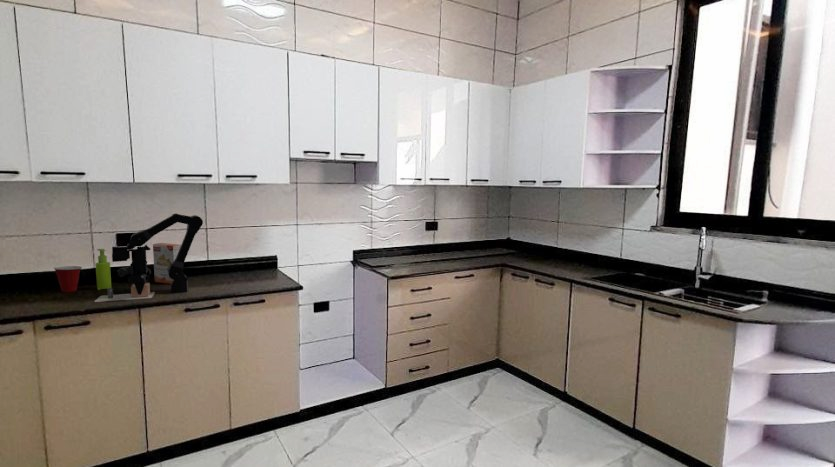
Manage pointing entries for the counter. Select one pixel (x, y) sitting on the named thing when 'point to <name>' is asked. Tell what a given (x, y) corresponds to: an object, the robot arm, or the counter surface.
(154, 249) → the cracker box
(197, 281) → the counter surface
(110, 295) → the steel pin
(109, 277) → the soap dispenser
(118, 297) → the base plate
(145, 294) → the pink hollow square block
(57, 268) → the plastic cup
